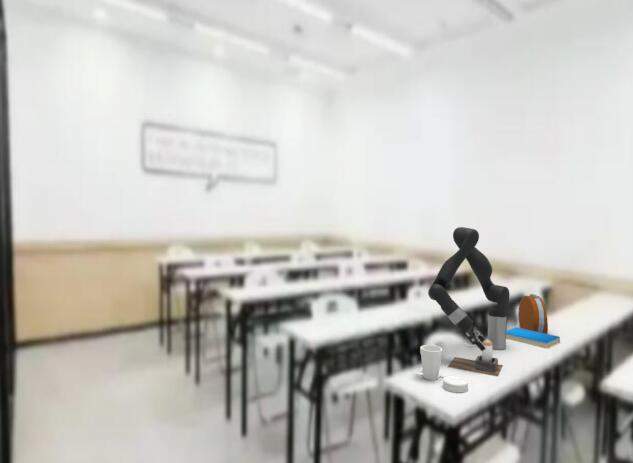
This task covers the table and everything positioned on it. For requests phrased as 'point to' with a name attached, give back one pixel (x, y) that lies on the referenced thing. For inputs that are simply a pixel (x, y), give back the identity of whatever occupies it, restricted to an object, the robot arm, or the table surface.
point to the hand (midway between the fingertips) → (485, 347)
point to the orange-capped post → (487, 351)
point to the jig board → (477, 365)
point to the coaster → (455, 384)
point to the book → (532, 337)
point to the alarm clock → (533, 314)
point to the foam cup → (431, 361)
